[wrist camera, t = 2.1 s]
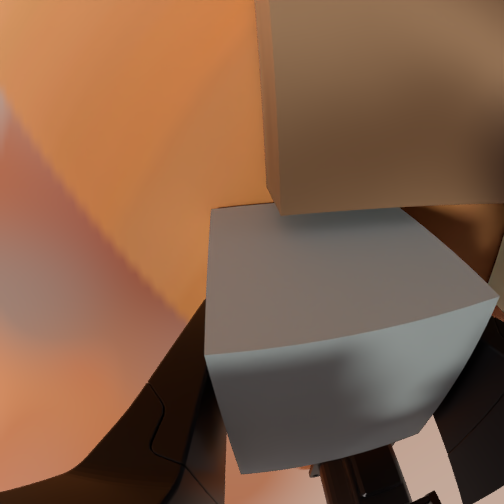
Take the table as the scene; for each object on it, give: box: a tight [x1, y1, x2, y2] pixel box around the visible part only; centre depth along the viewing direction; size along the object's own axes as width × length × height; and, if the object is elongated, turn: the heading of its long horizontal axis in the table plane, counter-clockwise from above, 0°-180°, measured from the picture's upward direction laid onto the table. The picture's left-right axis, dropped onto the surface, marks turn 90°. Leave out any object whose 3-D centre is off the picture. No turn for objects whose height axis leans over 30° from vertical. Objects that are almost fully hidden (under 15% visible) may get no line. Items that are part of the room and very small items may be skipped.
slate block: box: [204, 203, 500, 474], centre depth 7 cm, size 5×5×5 cm
